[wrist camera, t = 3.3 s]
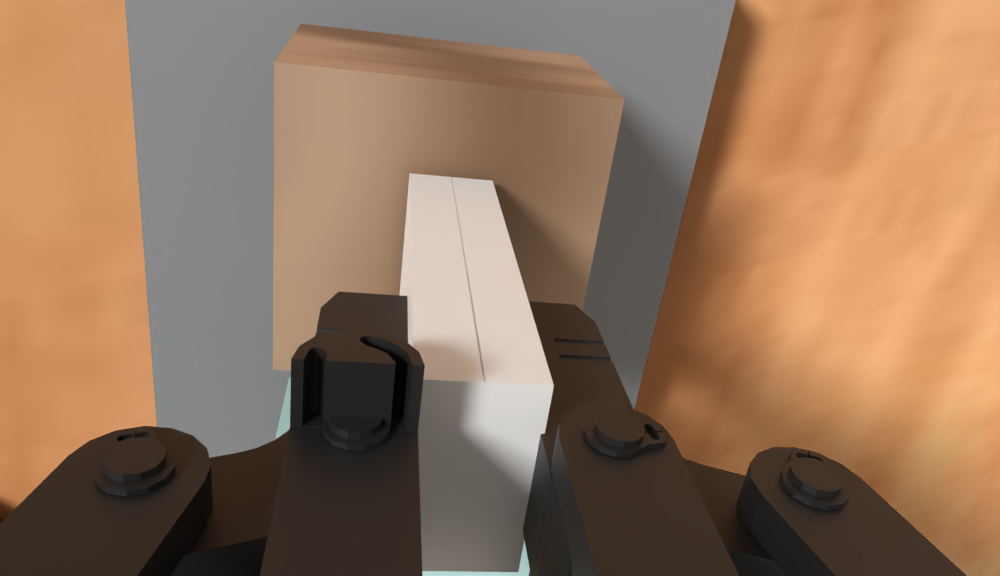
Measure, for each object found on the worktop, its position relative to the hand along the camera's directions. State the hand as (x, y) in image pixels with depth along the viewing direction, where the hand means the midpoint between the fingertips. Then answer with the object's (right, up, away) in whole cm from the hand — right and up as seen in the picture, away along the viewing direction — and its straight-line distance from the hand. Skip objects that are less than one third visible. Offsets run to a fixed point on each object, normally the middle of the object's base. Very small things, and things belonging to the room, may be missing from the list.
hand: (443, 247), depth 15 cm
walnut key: (-1, +2, +4) cm, 4 cm away
